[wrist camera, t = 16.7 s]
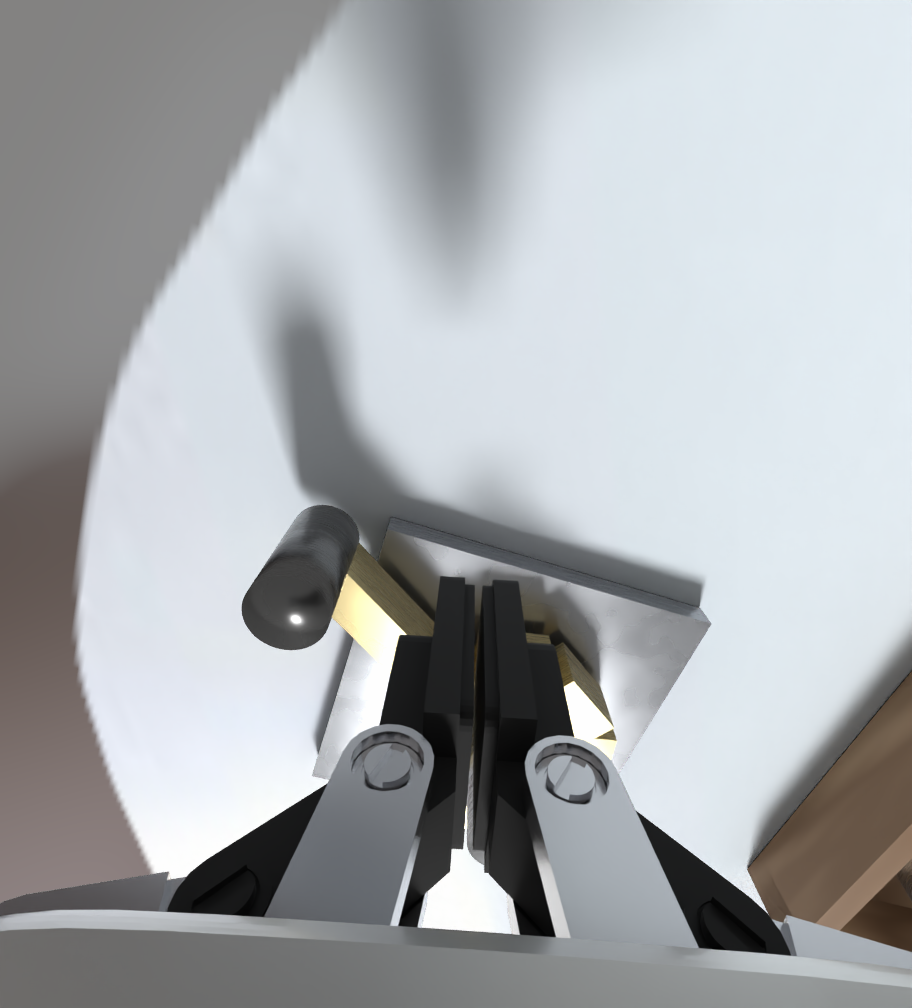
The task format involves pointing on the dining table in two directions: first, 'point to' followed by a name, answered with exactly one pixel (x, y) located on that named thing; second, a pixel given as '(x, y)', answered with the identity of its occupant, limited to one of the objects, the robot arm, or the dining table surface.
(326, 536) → the ring nut
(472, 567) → the nut base
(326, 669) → the dining table surface
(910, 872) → the silver dumbbell
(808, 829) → the tray
